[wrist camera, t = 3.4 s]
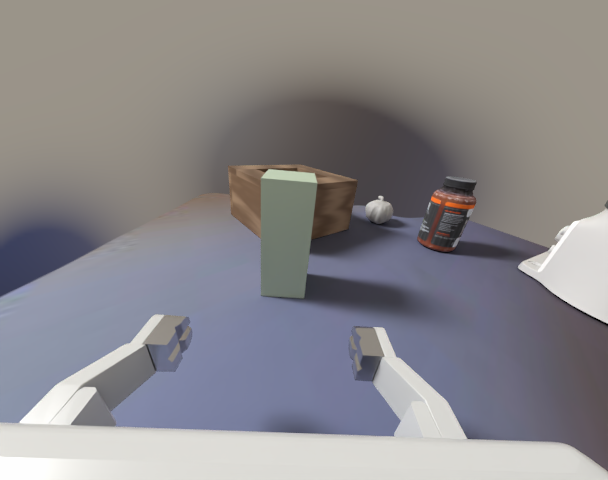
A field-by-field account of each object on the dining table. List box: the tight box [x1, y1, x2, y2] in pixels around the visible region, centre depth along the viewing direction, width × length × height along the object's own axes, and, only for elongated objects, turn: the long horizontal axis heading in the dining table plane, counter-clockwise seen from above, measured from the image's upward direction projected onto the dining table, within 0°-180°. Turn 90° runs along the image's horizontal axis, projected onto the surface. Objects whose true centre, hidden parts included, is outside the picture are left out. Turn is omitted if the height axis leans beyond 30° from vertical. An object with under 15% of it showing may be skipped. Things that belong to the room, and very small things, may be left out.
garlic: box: [366, 196, 393, 224], centre depth 44 cm, size 6×5×5 cm
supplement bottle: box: [417, 177, 477, 252], centre depth 35 cm, size 6×6×11 cm
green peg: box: [261, 169, 317, 298], centre depth 22 cm, size 4×4×12 cm
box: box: [228, 165, 358, 240], centre depth 39 cm, size 16×16×9 cm
